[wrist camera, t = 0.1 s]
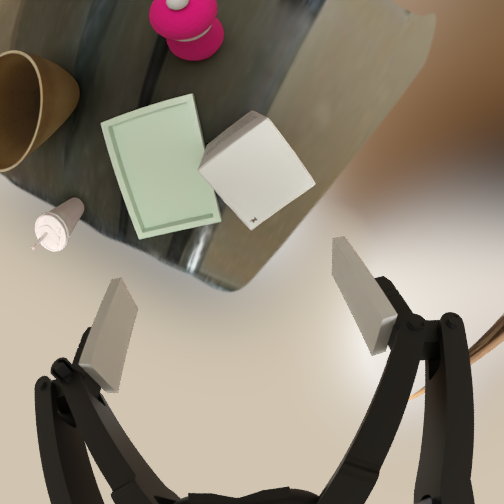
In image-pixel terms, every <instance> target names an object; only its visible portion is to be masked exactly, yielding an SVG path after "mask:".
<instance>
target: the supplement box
mask: <svg viewBox="0 0 504 504" xmlns="http://www.w3.org/2000/svg"><path fill="white" fill-rule="evenodd" d="M197 171H198V173H199V174H200V175H201V176H202V177H203V178H204V179H205V180H206V182H207V183H208V184H209V185H210V186H211V187H212V188H213V189H214V190H215V191H216V193H217V194H218V195H219V196H220V197H221V198H222V200H223V201H224V202H225V203H226V204H227V205H228V206H229V207H230V208H231V209H232V210H233V211H234V212H235V213H236V215H237V216H238V217H239V218H240V219H241V220H242V221H243V222H244V224H245V225H246V226H247V227H248V228H249V229H250V230H252V229H254V228H255V227H257V226H258V225H259V224H261V223H262V222H263V221H265V220H266V219H268V218H269V217H270V216H272V215H273V214H274V213H276V212H277V211H279V210H280V209H281V208H283V207H284V206H285V205H287V204H288V203H290V202H291V201H293V200H294V199H296V198H297V197H298V196H300V195H301V194H303V193H304V192H306V191H307V190H309V189H310V188H311V187H313V186H314V185H315V184H316V183H315V181H314V180H313V178H312V177H311V175H310V174H309V172H308V171H307V169H306V168H305V166H304V165H303V163H302V162H301V161H300V159H299V158H298V156H297V155H296V153H295V152H294V151H293V149H292V148H291V147H290V145H289V144H288V142H287V141H286V140H285V138H284V137H283V136H282V134H281V133H280V132H279V131H278V129H277V128H276V127H275V125H274V124H273V123H272V122H271V120H270V119H269V118H268V117H265V116H263V115H261V114H259V113H257V112H255V111H253V110H252V111H250V112H248V113H247V114H246V115H244V116H243V117H242V118H240V119H239V120H238V121H236V122H235V123H234V124H232V125H231V126H230V127H229V128H227V129H226V130H225V131H223V132H222V133H221V134H220V135H218V136H217V137H216V138H215V139H213V140H212V141H211V142H210V143H208V144H207V146H206V149H205V152H204V154H203V157H202V160H201V163H200V165H199V168H198V170H197Z"/></svg>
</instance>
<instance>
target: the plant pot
mask: <svg viewBox="0 0 504 504" xmlns="http://www.w3.org/2000/svg"><path fill="white" fill-rule="evenodd" d="M79 96H80V90H79V86H78V83H77V82H76V80H75V79H74V78H73V77H72V76H71V75H70V74H69V73H68V72H67V71H66V70H64V69H63V68H62V67H60V66H58V65H57V64H55V63H53V62H51V61H49V60H47V59H45V58H42V57H40V56H37V55H34V54H30V53H26V52H22V51H17V50H12V51H7V52H4V53H2V54H0V172H4V171H8V170H10V169H12V168H14V167H16V166H17V165H18V164H19V163H20V162H22V161H23V160H24V159H25V158H26V157H28V156H29V155H30V154H31V153H32V152H34V151H35V150H36V149H37V148H38V147H39V146H40V145H42V144H43V143H44V142H45V141H46V140H47V139H48V138H49V137H50V136H51V135H52V134H53V133H54V132H55V131H56V130H57V129H58V128H59V127H60V126H61V125H62V124H63V123H64V122H65V121H66V119H67V118H68V117H69V116H70V115H71V113H72V112H73V111H74V109H75V108H76V106H77V104H78V101H79Z"/></svg>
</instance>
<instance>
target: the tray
mask: <svg viewBox="0 0 504 504" xmlns="http://www.w3.org/2000/svg"><path fill="white" fill-rule="evenodd" d="M101 127H102V131H103V134H104V138H105V142H106V145H107V149H108V152H109V155H110V159H111V162H112V165H113V168H114V171H115V174H116V178H117V181H118V184H119V187H120V189H121V192H122V195H123V198H124V201H125V204H126V206H127V209H128V212H129V215H130V217H131V220H132V222H133V225H134V228H135V230H136V233H137V235H138V238H139V239H143V238H148V237H152V236H157V235H161V234H165V233H170V232H175V231H179V230H184V229H188V228H193V227H198V226H203V225H207V224H212V223H217V222H221V212H220V208H219V204H218V200H217V195H216V191H215V190H214V189H213V188H212V187H211V186H210V185H209V184H208V183H207V182H206V180H205V179H204V178H203V177H202V176H201V175H200V174H199V173H198V171H197V170H198V168H199V165H200V163H201V160H202V157H203V154H204V152H205V149H206V147H205V143H204V138H203V133H202V129H201V124H200V120H199V115H198V110H197V106H196V101H195V96H194V94H188V95H184V96H180V97H177V98H173V99H169V100H166V101H162V102H159V103H156V104H152V105H149V106H146V107H143V108H140V109H137V110H134V111H131V112H128V113H126V114H123V115H120V116H117V117H115V118H112V119H110V120H107V121H105V122H102V123H101Z"/></svg>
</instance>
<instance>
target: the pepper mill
mask: <svg viewBox="0 0 504 504" xmlns="http://www.w3.org/2000/svg"><path fill="white" fill-rule="evenodd" d="M216 15H217V2H216V0H154V1H153V3H152V5H151V7H150V11H149V20H150V23H151V25H152V27H153V29H154V30H155V31H156V32H157V33H158V34H160V35H161V36H163V37H165V38H166V40H167V44H168V46H169V48H170V50H171V51H172V53H173V54H175V55H176V56H177V57H179V58H181V59H185V60H193V61H199V60H204V59H207V58H209V57H210V56H212V55H213V54H214V53H215V52H216V51H217V50H218V49H219V47H220V46H221V44H222V42H223V38H224V30H223V27H222V25H221V23H220V21H219V20H218V19H217V18H216Z"/></svg>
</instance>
